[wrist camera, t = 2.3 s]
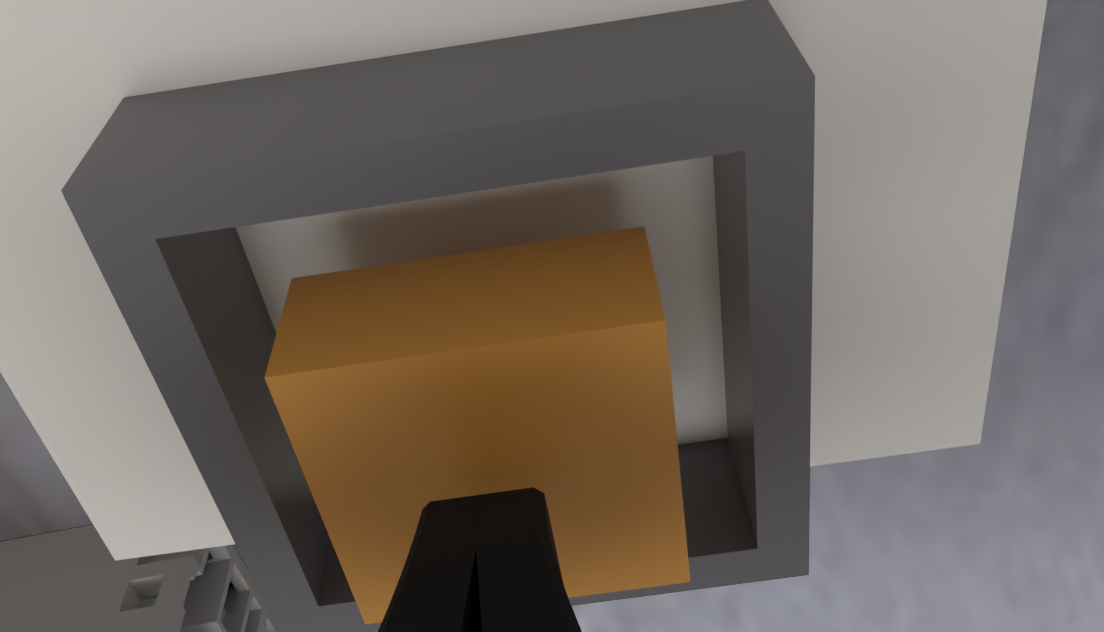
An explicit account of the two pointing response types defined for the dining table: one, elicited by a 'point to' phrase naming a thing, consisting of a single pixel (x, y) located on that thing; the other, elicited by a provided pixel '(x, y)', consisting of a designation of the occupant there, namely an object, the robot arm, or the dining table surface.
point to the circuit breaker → (124, 588)
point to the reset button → (489, 404)
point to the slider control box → (502, 233)
